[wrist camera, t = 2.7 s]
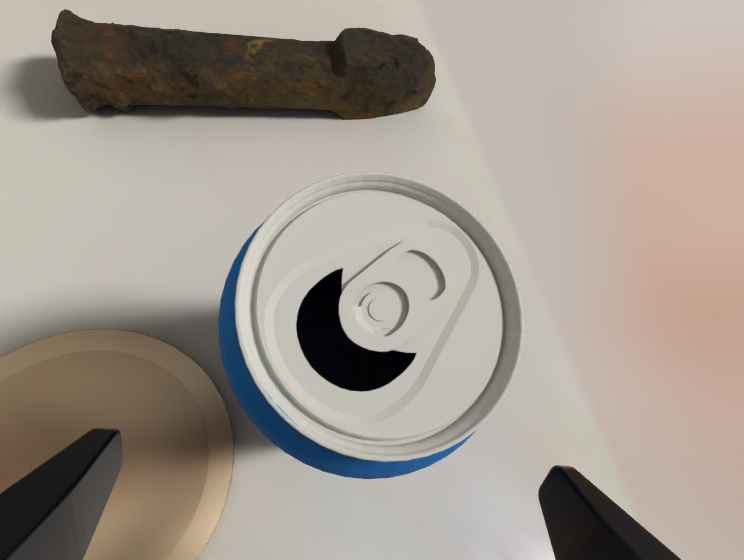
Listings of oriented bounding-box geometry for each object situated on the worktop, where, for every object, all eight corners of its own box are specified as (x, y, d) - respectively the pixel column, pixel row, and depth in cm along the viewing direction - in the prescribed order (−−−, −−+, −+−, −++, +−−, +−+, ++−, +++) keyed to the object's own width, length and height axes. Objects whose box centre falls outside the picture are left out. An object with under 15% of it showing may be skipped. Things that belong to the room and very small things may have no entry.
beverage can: (221, 360, 17) (125, 268, 6) (331, 277, 20) (397, 107, 9) (313, 475, 17) (380, 593, 6) (414, 375, 19) (599, 322, 8)
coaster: (271, 540, 16) (271, 545, 15) (-71, 733, 12) (-90, 750, 11) (188, 296, 18) (185, 292, 17) (-121, 397, 14) (-140, 396, 14)
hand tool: (82, 126, 20) (29, 47, 16) (90, 64, 21) (43, -25, 17) (427, 145, 25) (460, 90, 20) (418, 94, 26) (447, 31, 21)
